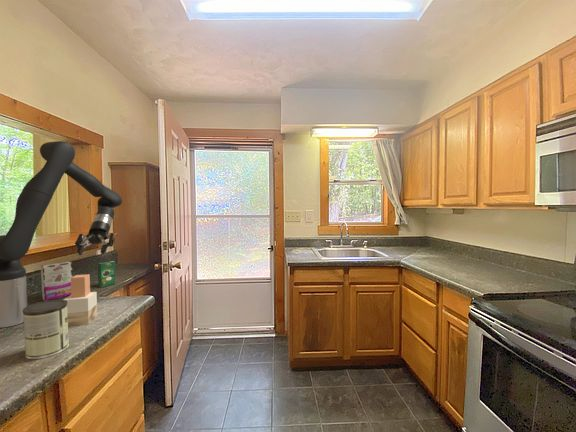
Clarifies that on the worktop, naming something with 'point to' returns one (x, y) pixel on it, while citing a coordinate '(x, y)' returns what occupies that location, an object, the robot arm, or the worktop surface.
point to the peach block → (80, 286)
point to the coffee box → (106, 274)
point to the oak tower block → (82, 317)
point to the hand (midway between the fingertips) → (90, 253)
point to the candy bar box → (56, 280)
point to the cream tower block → (81, 303)
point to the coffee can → (45, 329)
